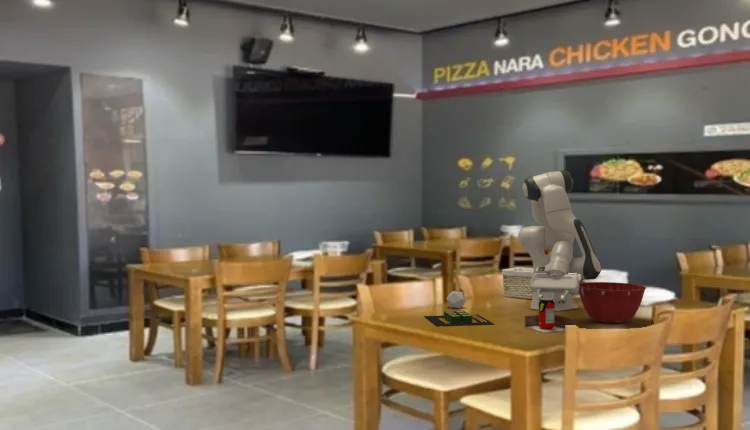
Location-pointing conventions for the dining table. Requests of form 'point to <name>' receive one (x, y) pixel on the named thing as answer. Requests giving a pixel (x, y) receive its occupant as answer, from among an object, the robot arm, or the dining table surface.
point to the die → (456, 299)
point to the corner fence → (560, 323)
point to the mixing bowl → (611, 300)
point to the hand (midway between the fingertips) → (551, 299)
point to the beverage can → (546, 313)
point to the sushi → (458, 319)
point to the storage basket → (517, 282)
